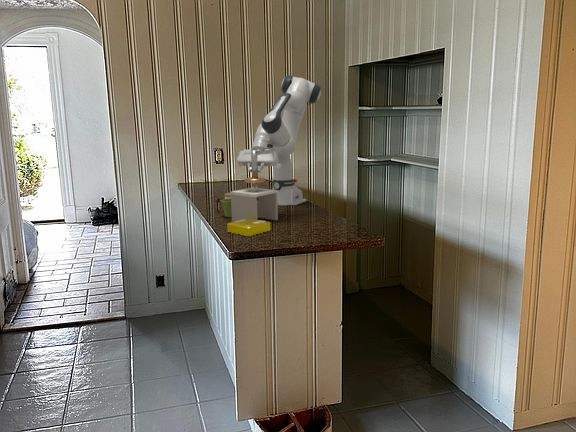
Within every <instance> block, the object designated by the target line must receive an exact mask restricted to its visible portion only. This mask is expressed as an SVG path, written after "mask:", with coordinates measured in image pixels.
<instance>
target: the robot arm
mask: <svg viewBox="0 0 576 432" xmlns="http://www.w3.org/2000/svg"><path fill="white" fill-rule="evenodd" d="M280 85H281V86H280V87H281V89H280V90H281V91H282V94H280V95H279V97H277V99H276V101H275V102H274V103H273V106H271V109H270V110H269V111H268V113H266V114H265V116H263V118H262V120H261V123H260V124H259V125H258V127H257V129H256V132H255V135H254V140H253V142H252V145H251V148H250V149H249V148H247V149H246V148H243V149H242V150H240V151H239V154H238V156H237V158H236V163H237V164H238V165H239V166H241V167H245V166H246V167H248V170H247V171H248V173H252V167H251V150H257V158H258V168H257V172H258V173H262V170H263V169H264V168H265V167H272V175H273V177H272V178H273V179H272V190H277V205H278V206H297V205H300V204H303V203H305V202H307V200H308V199H306V198H305V197H304V198H303V191H302V190H301V189H300V188H298V187H297V186H296V183H297V182H298V178H293V163H292V159H291V155H292V154H293V153H294V152H295V150H296V144H297V139H298V133H299V129H300V126H301V124H302V121H303V118H304V115H305V113H306V112H305V111H306V110H307V103H308V106H310V105H312V104H315V103H317V102H318V100H320V97H321V95H322V89H321V88H322V87H321V86H320V85H319V84H317V83H314V82H312V81H310V80H308V79H305V78H303V77H296V76H294V75H290V74H289V75H286V76H285V77H284V78H283V79H282V81H281V84H280Z"/></svg>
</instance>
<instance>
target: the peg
mask: <svg viewBox="0 0 576 432" xmlns="http://www.w3.org/2000/svg"><path fill="white" fill-rule="evenodd" d="M250 168H252V172H251V176H250V177H246V178H244V183H247V184H252V188H253V192H258V188H259V185H258V184H259V183H261V184H262V183H265V182H266V178H265V177H259V172H257V168H259V166H258V158H257V150H251V167H250ZM257 204H259V199H258V197H257Z"/></svg>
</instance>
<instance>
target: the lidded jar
mask: <svg viewBox="0 0 576 432" xmlns="http://www.w3.org/2000/svg"><path fill="white" fill-rule="evenodd" d="M231 192H232V191H230V192H227V193H224V194H223V196H224V199H229V198H231Z"/></svg>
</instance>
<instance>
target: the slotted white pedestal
mask: <svg viewBox="0 0 576 432" xmlns="http://www.w3.org/2000/svg"><path fill="white" fill-rule="evenodd" d="M272 189H273V188H272ZM272 189H270V188H262V187H258V192H253V187H247V188H243V189H242V188H241V189H237V190H232V191H230V192H231V211H232V217H231V222H235V221H239V220H243V219H248V218H251V219H256V220H259V219H264V218H265V219H264V220H272V221H278V220H279V218H278V217H279V214H278V211H279V209H278V206H279V205H277V190H272ZM257 197H258V199H259V204H257ZM258 218H259V219H258Z"/></svg>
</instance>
